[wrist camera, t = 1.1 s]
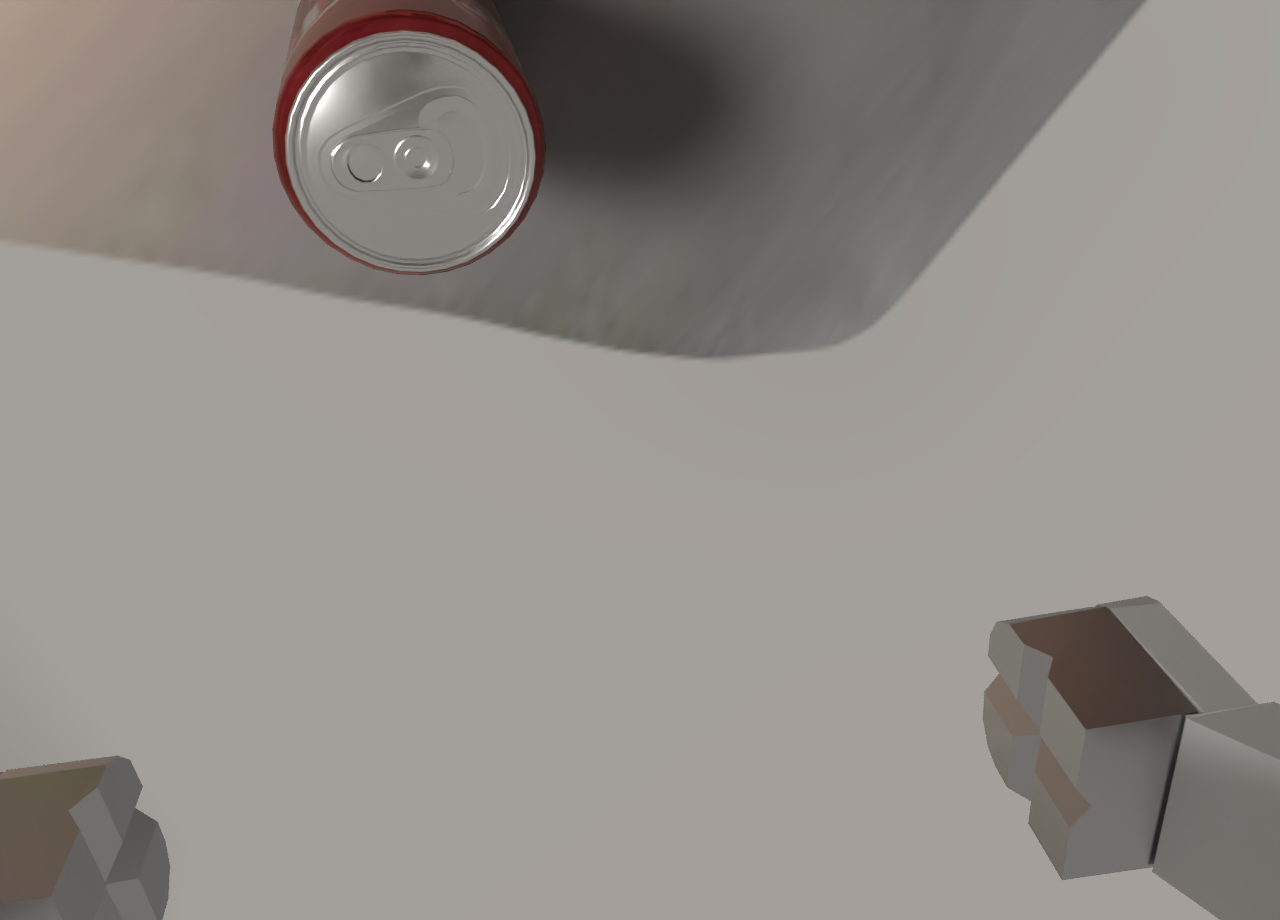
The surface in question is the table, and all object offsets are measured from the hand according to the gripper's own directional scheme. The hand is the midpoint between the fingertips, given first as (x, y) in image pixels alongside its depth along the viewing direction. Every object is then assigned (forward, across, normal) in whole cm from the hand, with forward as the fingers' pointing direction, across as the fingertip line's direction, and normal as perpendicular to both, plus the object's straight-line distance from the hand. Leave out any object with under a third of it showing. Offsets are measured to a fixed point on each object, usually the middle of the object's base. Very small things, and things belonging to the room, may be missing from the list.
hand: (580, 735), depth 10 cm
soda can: (+34, +3, -2) cm, 34 cm away
